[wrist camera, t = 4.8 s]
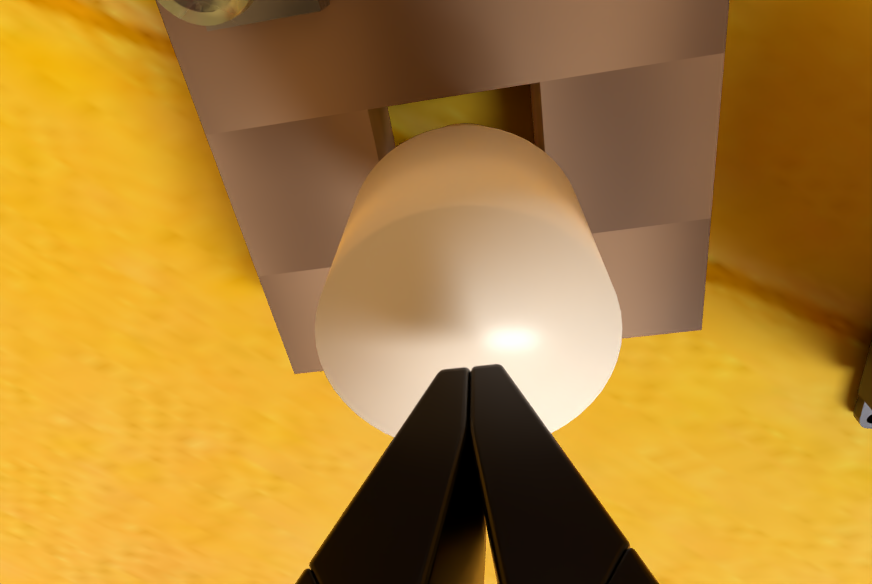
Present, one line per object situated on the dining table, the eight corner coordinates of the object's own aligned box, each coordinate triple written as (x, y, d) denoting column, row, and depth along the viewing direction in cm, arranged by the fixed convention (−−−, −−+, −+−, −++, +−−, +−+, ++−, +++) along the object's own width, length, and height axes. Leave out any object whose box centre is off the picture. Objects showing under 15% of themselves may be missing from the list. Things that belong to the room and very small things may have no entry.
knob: (555, 71, 13) (622, 182, 8) (566, 256, 15) (622, 439, 10) (348, 104, 13) (275, 230, 8) (389, 278, 16) (354, 464, 11)
